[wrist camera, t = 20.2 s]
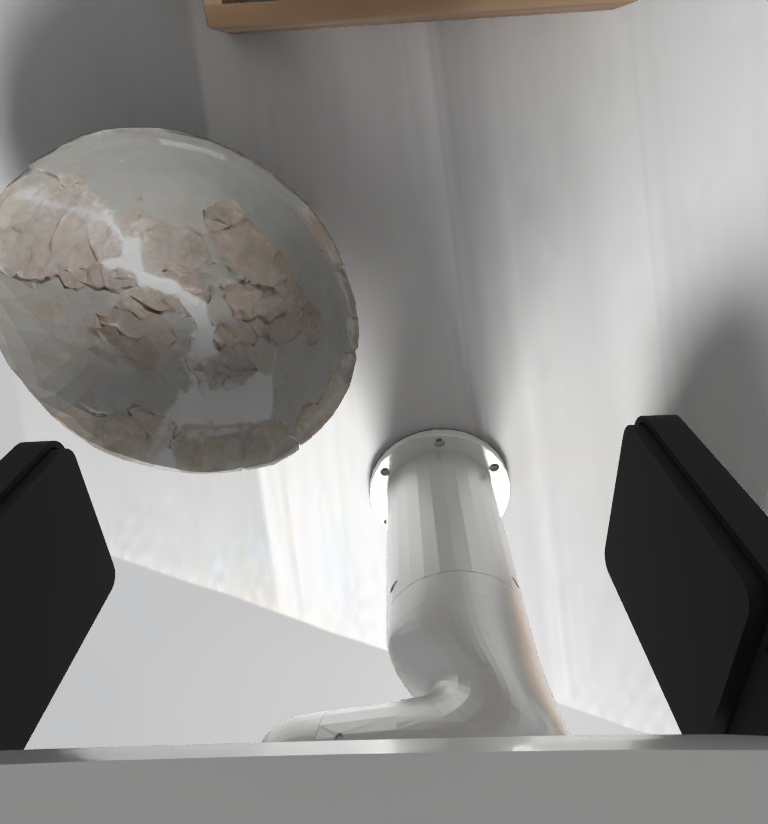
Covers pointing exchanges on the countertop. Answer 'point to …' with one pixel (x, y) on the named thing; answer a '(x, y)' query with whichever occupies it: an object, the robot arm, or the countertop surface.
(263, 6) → the walnut bottle rack
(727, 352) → the countertop surface
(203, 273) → the ceramic bowl
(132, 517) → the countertop surface
